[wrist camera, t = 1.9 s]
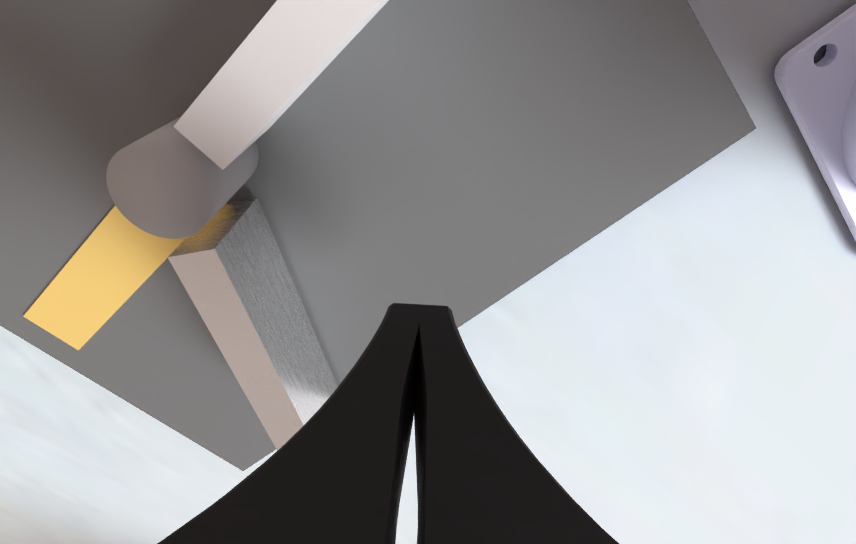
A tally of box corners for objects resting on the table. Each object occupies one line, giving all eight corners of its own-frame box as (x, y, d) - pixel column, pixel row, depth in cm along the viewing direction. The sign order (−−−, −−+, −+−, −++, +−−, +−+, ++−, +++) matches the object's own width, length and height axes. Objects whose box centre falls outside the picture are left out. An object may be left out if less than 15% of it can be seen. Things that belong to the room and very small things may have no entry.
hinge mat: (280, -706, 7) (129, -1325, 4) (740, 120, 13) (842, 171, 10) (-159, 202, 15) (-331, 268, 12) (249, 455, 21) (212, 546, 18)
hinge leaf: (218, 204, 14) (167, 257, 11) (257, 197, 14) (214, 249, 11) (309, 395, 18) (286, 466, 15) (339, 391, 18) (322, 462, 15)
